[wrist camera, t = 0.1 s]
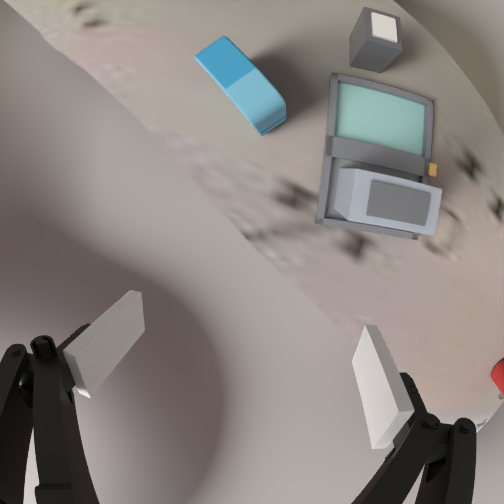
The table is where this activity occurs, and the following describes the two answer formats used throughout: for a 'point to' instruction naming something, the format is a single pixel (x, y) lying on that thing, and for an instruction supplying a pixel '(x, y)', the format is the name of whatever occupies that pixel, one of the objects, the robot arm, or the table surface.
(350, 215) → the block
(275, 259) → the table surface
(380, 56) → the plug
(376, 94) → the grey flat panel
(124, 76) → the table surface
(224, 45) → the data package
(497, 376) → the beer can
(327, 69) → the table surface
